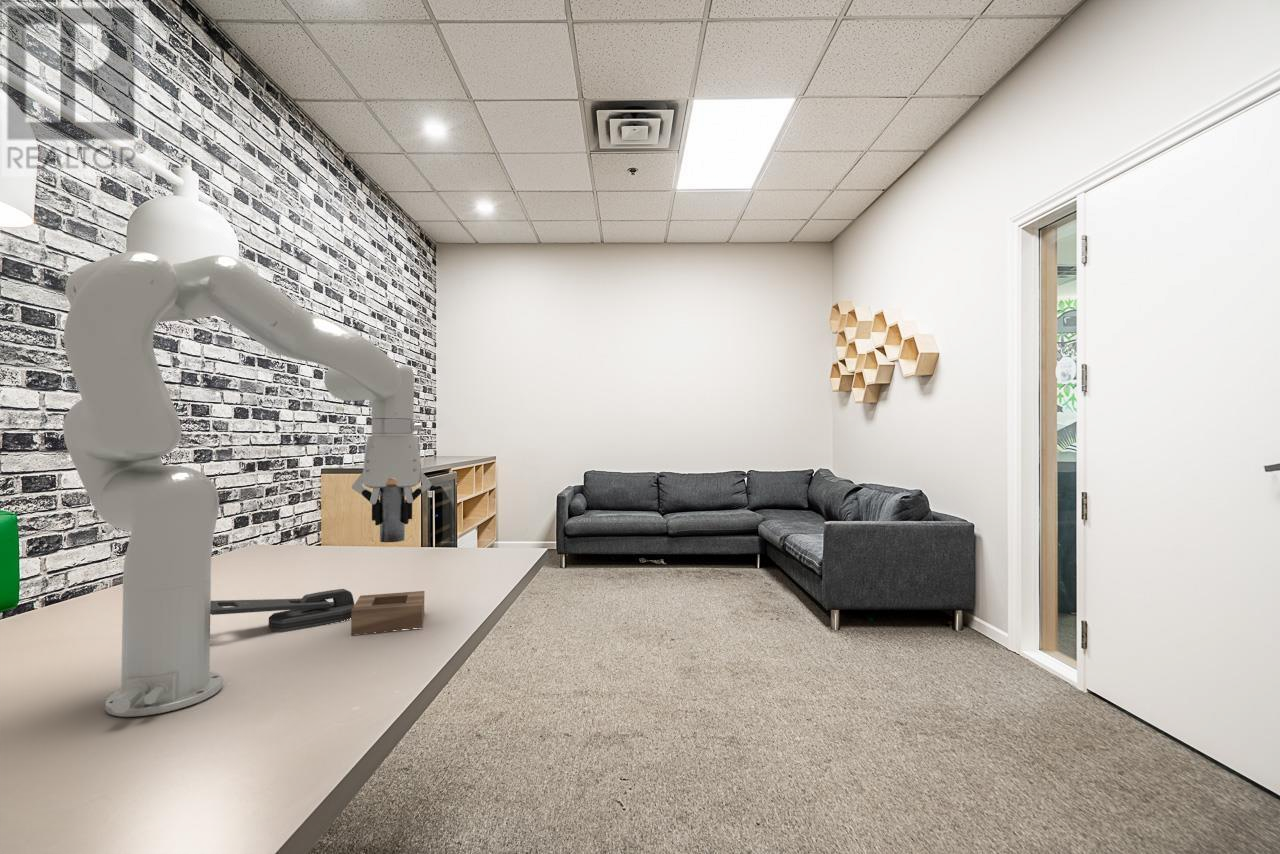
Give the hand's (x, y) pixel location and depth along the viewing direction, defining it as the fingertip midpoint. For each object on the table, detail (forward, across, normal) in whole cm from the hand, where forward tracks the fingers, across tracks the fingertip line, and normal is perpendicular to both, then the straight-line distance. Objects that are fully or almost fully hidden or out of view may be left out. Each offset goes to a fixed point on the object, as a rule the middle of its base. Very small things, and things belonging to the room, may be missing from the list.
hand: (392, 522), depth 115 cm
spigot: (+3, 0, 0) cm, 3 cm away
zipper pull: (+20, +19, -4) cm, 28 cm away
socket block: (+19, 0, 0) cm, 19 cm away
